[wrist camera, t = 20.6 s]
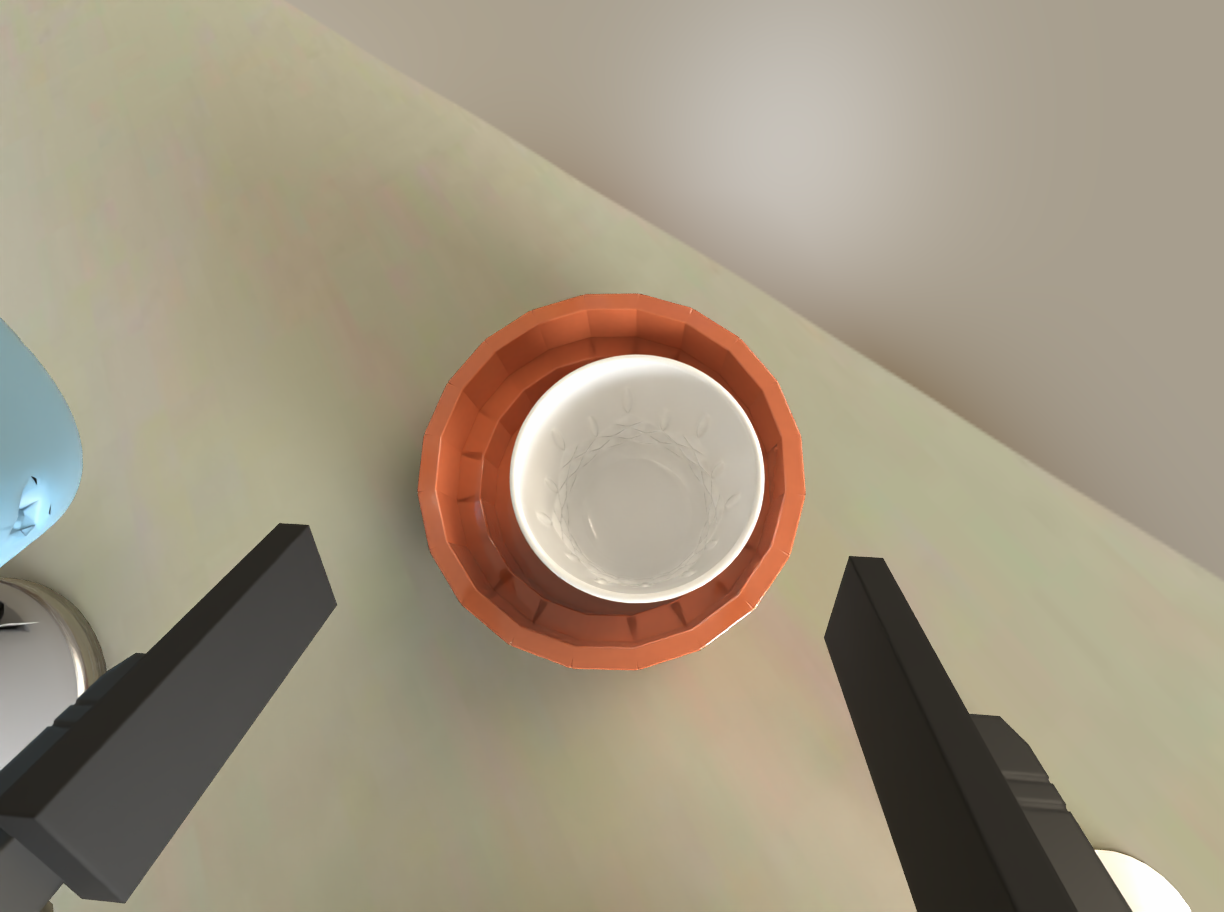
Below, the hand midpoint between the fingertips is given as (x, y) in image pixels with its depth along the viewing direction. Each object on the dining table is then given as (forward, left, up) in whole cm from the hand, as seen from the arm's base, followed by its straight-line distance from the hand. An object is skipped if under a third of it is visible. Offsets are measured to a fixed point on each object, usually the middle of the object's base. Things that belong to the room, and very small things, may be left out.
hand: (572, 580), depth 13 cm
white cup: (+2, +3, -13) cm, 13 cm away
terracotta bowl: (+2, +5, -13) cm, 14 cm away
